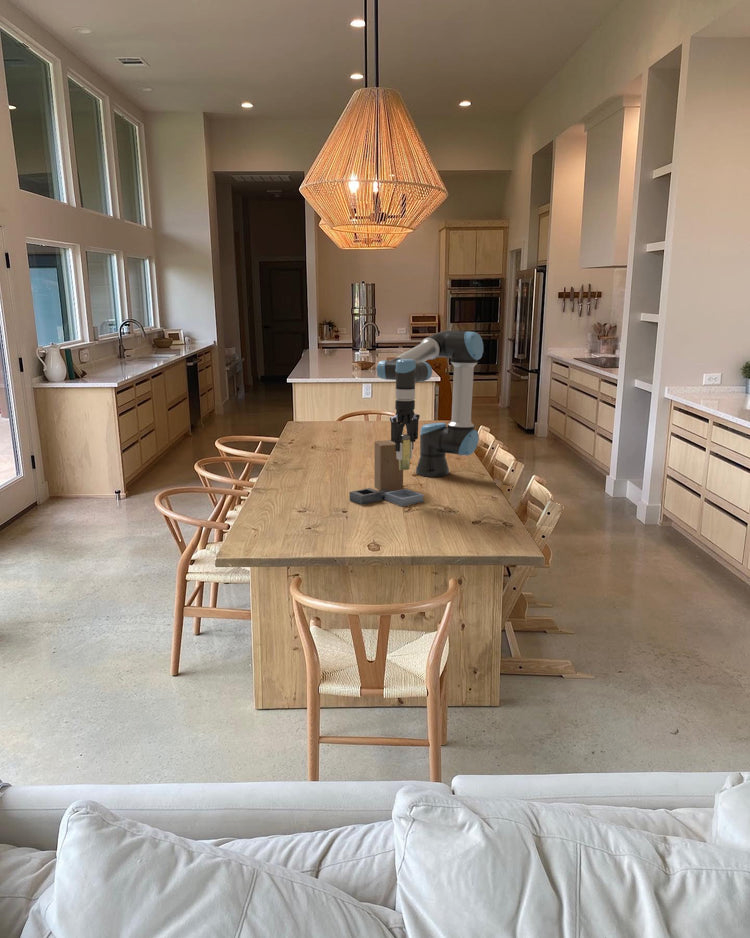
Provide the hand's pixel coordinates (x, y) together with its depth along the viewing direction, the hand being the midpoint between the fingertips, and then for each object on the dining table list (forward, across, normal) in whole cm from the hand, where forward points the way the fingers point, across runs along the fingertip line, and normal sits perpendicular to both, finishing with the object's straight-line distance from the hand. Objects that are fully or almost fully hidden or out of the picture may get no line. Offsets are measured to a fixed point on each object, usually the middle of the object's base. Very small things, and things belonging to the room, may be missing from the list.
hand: (404, 458), depth 289 cm
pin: (+4, 0, 0) cm, 4 cm away
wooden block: (+18, -7, -18) cm, 27 cm away
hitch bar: (+17, +8, -10) cm, 21 cm away
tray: (+17, 0, 0) cm, 17 cm away
